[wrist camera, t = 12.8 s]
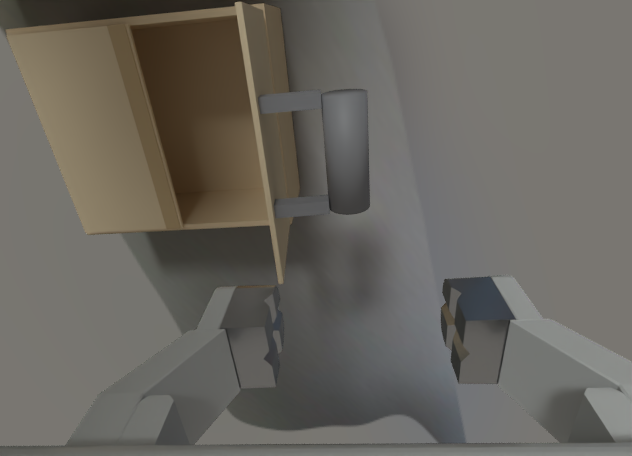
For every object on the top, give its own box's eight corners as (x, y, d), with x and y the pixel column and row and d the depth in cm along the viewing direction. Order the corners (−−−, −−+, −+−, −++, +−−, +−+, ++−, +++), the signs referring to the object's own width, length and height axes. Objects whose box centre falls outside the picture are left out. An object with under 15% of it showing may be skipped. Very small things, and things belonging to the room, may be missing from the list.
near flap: (234, 2, 17) (368, -11, 17) (258, 10, 25) (350, 1, 25) (278, 284, 24) (373, 277, 24) (286, 222, 32) (358, 216, 32)
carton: (75, 29, 34) (-2, 29, 26) (280, 8, 32) (262, 2, 24) (131, 198, 41) (83, 237, 33) (300, 188, 39) (291, 227, 32)
